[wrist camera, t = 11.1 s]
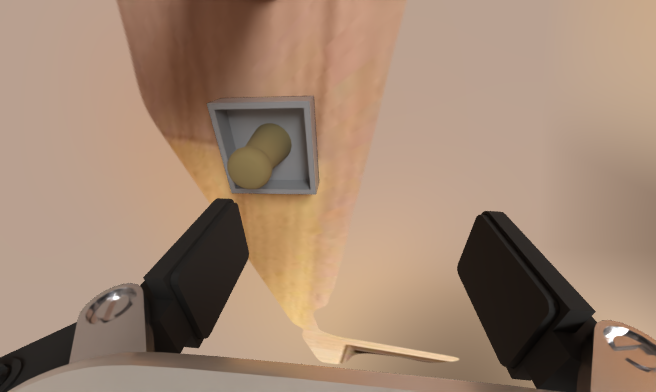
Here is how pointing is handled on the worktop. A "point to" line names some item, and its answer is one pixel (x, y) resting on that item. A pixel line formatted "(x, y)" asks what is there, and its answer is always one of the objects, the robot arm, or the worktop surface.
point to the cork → (259, 156)
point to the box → (288, 112)
